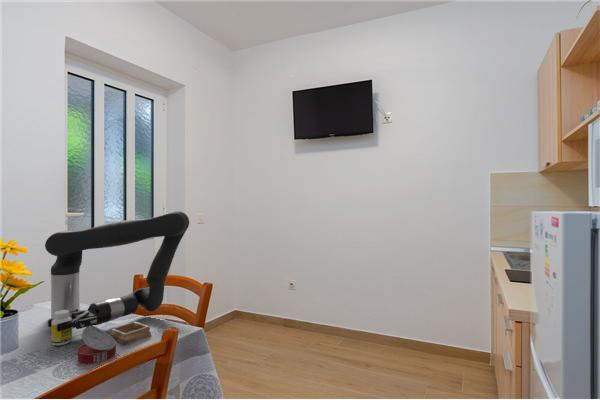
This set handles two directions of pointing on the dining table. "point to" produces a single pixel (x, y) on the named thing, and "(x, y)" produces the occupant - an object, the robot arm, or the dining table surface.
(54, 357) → the dining table surface
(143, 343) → the dining table surface
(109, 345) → the canned food
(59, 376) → the dining table surface
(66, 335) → the supplement bottle
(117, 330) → the wooden box
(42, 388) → the dining table surface
